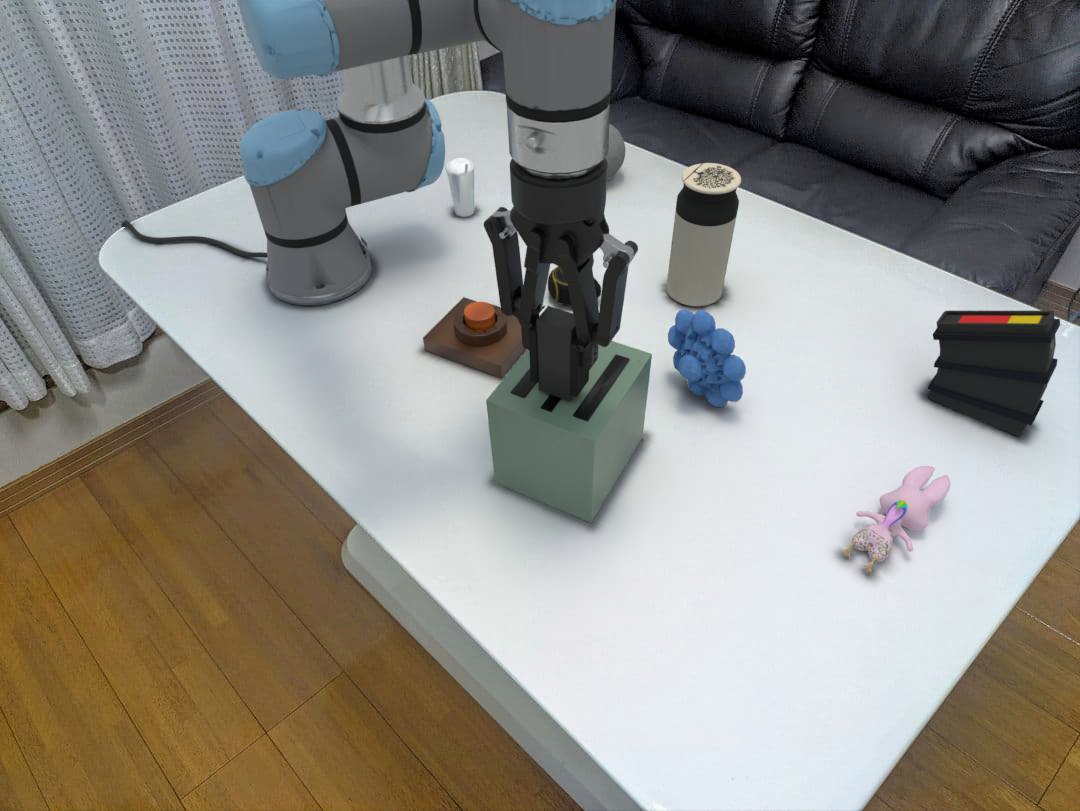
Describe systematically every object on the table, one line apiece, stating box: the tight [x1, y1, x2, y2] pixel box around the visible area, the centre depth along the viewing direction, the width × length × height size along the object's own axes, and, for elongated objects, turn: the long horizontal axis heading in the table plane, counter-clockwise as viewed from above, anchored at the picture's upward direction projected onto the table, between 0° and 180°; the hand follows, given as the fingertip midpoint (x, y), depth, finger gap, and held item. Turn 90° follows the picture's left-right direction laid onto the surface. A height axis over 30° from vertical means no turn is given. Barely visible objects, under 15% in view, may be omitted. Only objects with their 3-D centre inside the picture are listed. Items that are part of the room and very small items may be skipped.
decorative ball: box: [605, 123, 626, 181], centre depth 126 cm, size 10×10×10 cm
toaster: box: [485, 340, 653, 523], centre depth 80 cm, size 12×14×13 cm
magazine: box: [926, 310, 1061, 437], centre depth 84 cm, size 4×13×15 cm, turn 50°
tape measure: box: [547, 266, 602, 306], centre depth 105 cm, size 7×7×4 cm
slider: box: [536, 305, 577, 401], centre depth 70 cm, size 4×2×9 cm, turn 61°
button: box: [464, 301, 495, 330], centre depth 96 cm, size 4×4×2 cm
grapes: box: [667, 309, 747, 408], centre depth 87 cm, size 12×7×12 cm, turn 39°
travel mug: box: [665, 162, 742, 307], centre depth 100 cm, size 8×8×18 cm
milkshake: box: [445, 157, 476, 218], centre depth 119 cm, size 4×5×10 cm
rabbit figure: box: [841, 465, 951, 575], centre depth 75 cm, size 6×6×15 cm
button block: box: [422, 296, 527, 379], centre depth 98 cm, size 12×10×4 cm
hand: (559, 380), depth 72 cm, fingers closed on slider, 4 cm apart
